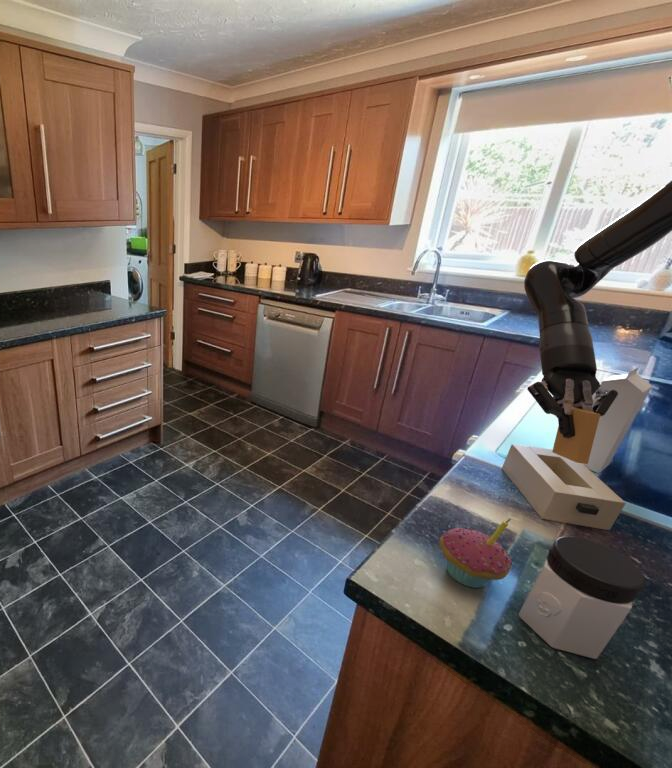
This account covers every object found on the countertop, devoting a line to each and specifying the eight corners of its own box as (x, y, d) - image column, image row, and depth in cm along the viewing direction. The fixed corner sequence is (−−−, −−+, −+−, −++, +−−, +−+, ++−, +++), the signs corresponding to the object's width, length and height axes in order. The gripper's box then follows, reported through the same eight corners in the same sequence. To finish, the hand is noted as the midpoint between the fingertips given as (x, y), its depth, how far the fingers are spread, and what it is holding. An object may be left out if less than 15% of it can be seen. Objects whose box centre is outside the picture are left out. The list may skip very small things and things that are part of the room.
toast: (563, 453, 80) (574, 407, 79) (587, 464, 74) (600, 414, 73) (552, 452, 81) (563, 406, 79) (575, 462, 74) (588, 412, 73)
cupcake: (498, 569, 64) (528, 507, 60) (501, 610, 58) (534, 545, 53) (433, 545, 69) (456, 485, 64) (429, 580, 62) (454, 517, 57)
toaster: (501, 468, 89) (511, 443, 87) (557, 476, 87) (569, 451, 84) (545, 523, 74) (559, 496, 72) (614, 535, 72) (631, 507, 69)
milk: (562, 459, 93) (607, 366, 84) (573, 451, 96) (618, 360, 86) (599, 474, 88) (651, 376, 79) (609, 465, 91) (660, 370, 82)
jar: (501, 602, 59) (533, 537, 54) (548, 593, 61) (584, 529, 56) (568, 666, 51) (614, 597, 46) (621, 654, 53) (670, 585, 48)
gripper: (536, 339, 80) (546, 426, 74) (625, 346, 77) (642, 438, 71) (513, 356, 87) (520, 437, 81) (593, 363, 84) (606, 449, 78)
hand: (577, 437), depth 76 cm, fingers closed on toast, 1 cm apart
